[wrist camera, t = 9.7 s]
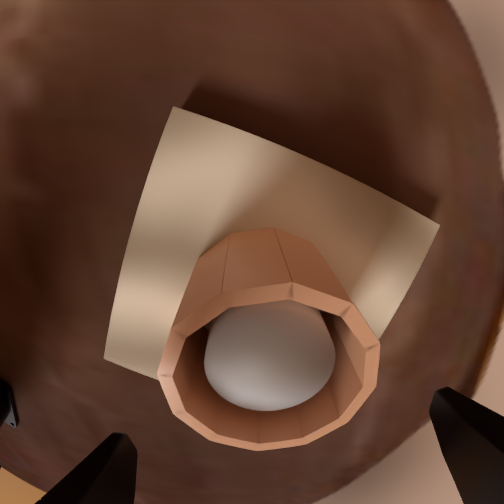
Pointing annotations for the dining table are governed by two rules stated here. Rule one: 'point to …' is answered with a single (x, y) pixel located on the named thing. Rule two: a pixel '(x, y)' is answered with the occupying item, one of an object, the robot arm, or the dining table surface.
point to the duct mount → (245, 219)
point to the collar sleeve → (255, 292)
